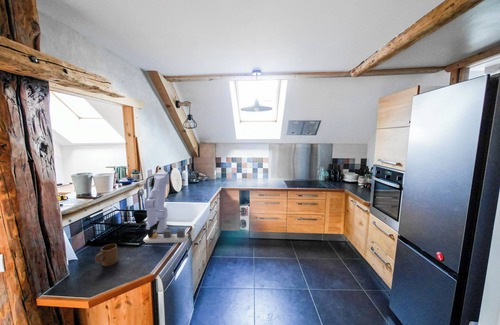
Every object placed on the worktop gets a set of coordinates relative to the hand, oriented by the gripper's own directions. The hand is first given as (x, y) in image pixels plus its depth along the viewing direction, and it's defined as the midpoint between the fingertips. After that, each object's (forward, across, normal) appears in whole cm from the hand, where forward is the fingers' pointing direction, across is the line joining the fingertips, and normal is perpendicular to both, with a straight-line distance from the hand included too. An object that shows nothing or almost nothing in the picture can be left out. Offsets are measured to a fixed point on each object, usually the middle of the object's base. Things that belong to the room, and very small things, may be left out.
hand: (152, 234), depth 140 cm
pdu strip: (+4, 0, +9) cm, 10 cm away
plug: (+4, 0, 0) cm, 4 cm away
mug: (+4, +26, -15) cm, 30 cm away
